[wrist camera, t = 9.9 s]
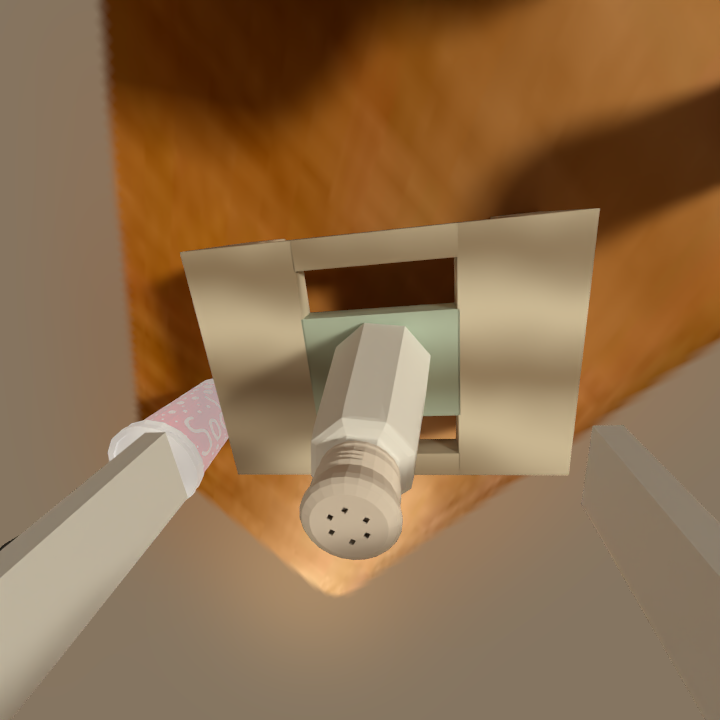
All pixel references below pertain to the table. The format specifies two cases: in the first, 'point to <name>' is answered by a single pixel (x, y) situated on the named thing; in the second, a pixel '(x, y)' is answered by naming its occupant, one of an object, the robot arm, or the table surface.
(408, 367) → the pepper shaker
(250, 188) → the table surface
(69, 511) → the robot arm
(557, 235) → the cut-out shelf
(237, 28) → the table surface
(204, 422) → the beverage cup
